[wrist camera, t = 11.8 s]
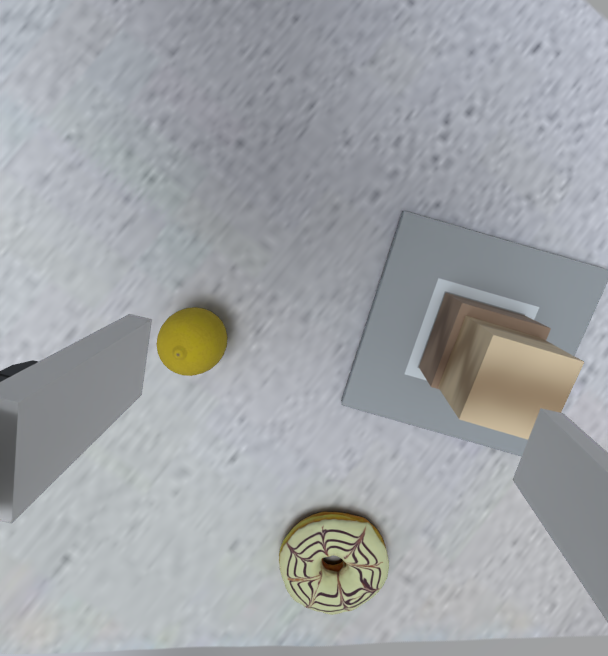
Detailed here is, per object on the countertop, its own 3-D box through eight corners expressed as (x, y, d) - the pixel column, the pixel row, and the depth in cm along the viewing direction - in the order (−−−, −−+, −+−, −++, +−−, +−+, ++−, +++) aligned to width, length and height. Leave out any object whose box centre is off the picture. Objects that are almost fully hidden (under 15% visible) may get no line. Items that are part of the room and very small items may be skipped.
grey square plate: (402, 211, 39) (404, 210, 38) (603, 269, 39) (612, 270, 38) (341, 400, 43) (341, 405, 42) (523, 452, 43) (528, 458, 42)
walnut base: (445, 292, 39) (462, 302, 34) (523, 314, 39) (551, 328, 34) (418, 367, 41) (430, 387, 36) (493, 388, 41) (515, 411, 36)
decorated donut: (395, 581, 48) (400, 611, 44) (296, 598, 49) (293, 629, 45) (373, 495, 46) (378, 519, 42) (270, 515, 47) (265, 540, 43)
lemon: (164, 332, 43) (127, 357, 35) (200, 288, 41) (171, 303, 34) (210, 370, 43) (184, 402, 35) (247, 327, 42) (228, 351, 34)
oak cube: (465, 315, 34) (493, 335, 29) (541, 338, 35) (584, 362, 29) (437, 387, 36) (458, 419, 30) (510, 408, 36) (545, 444, 30)
